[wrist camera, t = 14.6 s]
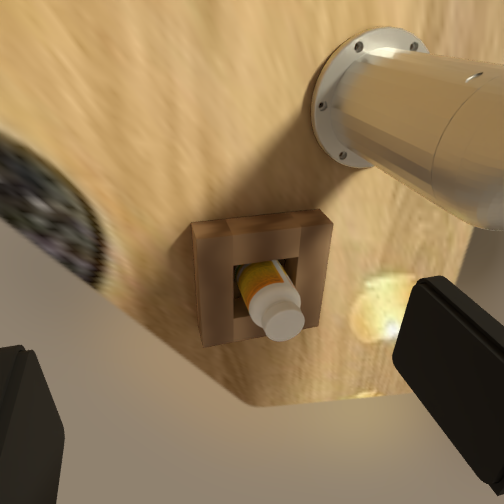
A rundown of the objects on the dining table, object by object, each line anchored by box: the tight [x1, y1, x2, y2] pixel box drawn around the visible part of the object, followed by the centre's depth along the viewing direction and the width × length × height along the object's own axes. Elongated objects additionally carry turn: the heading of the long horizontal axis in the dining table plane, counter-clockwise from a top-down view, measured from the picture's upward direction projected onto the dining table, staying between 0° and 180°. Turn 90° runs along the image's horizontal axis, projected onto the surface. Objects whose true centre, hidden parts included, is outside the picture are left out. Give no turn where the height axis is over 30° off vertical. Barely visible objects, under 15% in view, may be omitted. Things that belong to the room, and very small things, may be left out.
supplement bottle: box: [234, 260, 305, 341], centre depth 40 cm, size 5×5×10 cm
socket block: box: [191, 209, 333, 348], centre depth 43 cm, size 14×14×4 cm
